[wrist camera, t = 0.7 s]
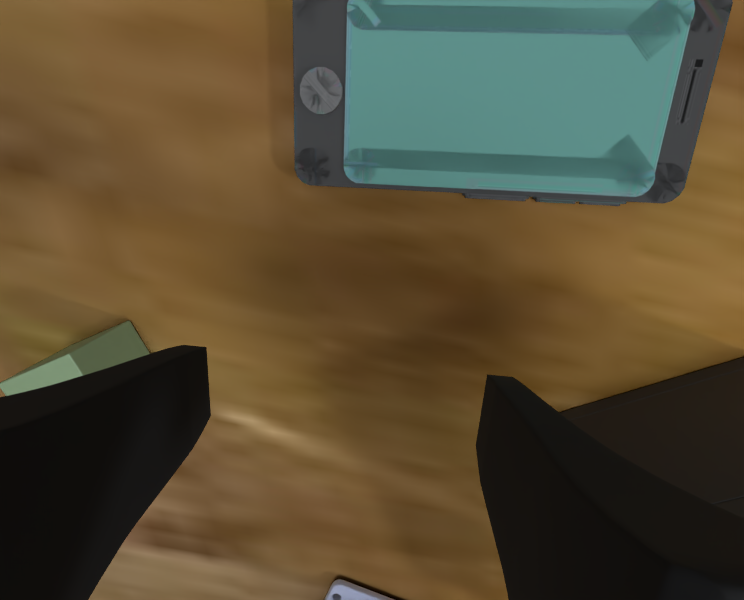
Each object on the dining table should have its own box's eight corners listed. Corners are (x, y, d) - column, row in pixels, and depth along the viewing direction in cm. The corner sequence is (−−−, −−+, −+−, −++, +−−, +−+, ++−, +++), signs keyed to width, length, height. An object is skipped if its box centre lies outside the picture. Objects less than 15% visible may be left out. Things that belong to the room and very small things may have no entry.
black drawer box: (802, 577, 22) (987, 775, 15) (576, 621, 25) (642, 812, 17) (754, 353, 19) (963, 470, 12) (498, 430, 21) (541, 567, 14)
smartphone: (290, -25, 15) (742, -21, 14) (299, -12, 16) (717, -6, 15) (293, 190, 17) (681, 210, 16) (301, 188, 19) (663, 207, 17)
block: (170, 386, 22) (120, 432, 19) (110, 409, 23) (51, 458, 19) (129, 319, 21) (68, 353, 18) (68, 346, 22) (-4, 384, 18)
